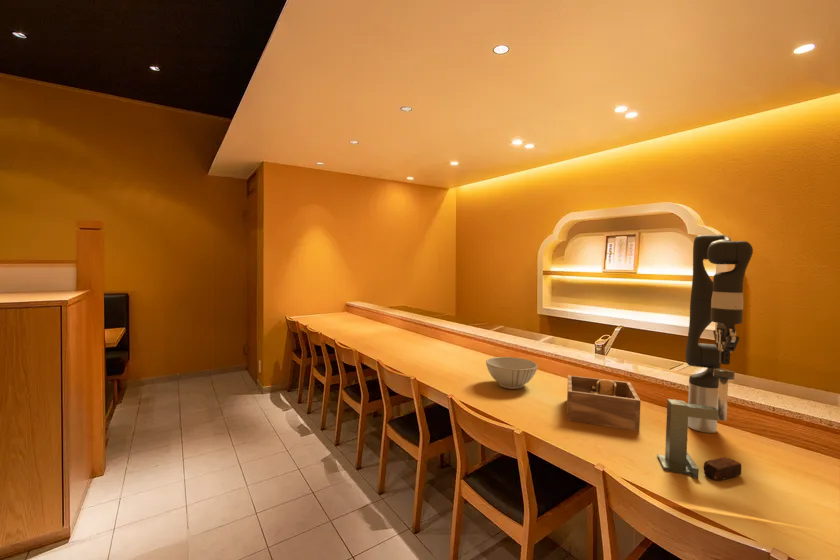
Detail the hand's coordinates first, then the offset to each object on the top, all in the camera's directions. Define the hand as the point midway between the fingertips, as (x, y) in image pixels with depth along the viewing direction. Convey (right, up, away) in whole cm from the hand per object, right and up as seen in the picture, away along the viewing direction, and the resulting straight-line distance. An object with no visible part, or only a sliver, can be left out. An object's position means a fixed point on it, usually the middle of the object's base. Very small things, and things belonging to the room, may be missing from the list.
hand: (724, 363), depth 114 cm
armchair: (-11, -33, +49) cm, 60 cm away
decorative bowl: (-44, -31, +86) cm, 101 cm away
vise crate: (-15, -32, +48) cm, 59 cm away
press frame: (-9, -34, +4) cm, 35 cm away
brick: (-1, -30, -4) cm, 31 cm away
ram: (0, -17, +1) cm, 17 cm away
